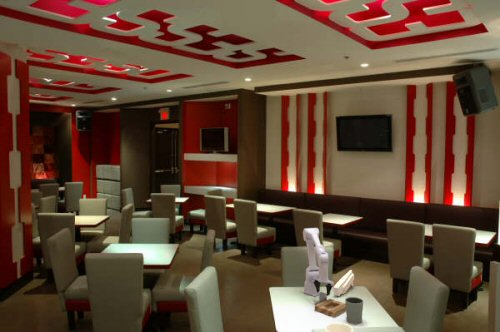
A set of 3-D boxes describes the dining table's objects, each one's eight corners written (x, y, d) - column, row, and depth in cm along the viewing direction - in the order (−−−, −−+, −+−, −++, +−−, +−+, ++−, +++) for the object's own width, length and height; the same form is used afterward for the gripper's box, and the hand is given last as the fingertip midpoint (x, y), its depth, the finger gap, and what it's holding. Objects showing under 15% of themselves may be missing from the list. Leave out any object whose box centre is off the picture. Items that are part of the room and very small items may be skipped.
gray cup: (365, 324, 233) (365, 303, 232) (348, 324, 232) (348, 303, 231) (359, 316, 243) (359, 296, 242) (342, 316, 242) (342, 296, 241)
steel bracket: (314, 305, 259) (314, 295, 258) (321, 301, 264) (321, 291, 264) (319, 306, 256) (319, 296, 256) (326, 303, 261) (326, 293, 261)
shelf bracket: (356, 287, 291) (354, 270, 288) (341, 305, 272) (339, 288, 269) (348, 285, 294) (347, 269, 291) (333, 303, 275) (332, 286, 272)
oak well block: (314, 310, 251) (314, 305, 250) (329, 303, 262) (329, 298, 262) (334, 317, 241) (334, 312, 241) (348, 309, 252) (348, 304, 252)
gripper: (310, 271, 263) (310, 292, 264) (329, 276, 253) (329, 298, 254) (316, 269, 268) (316, 289, 269) (335, 274, 258) (335, 295, 258)
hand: (323, 293), depth 261 cm, fingers open, 7 cm apart
